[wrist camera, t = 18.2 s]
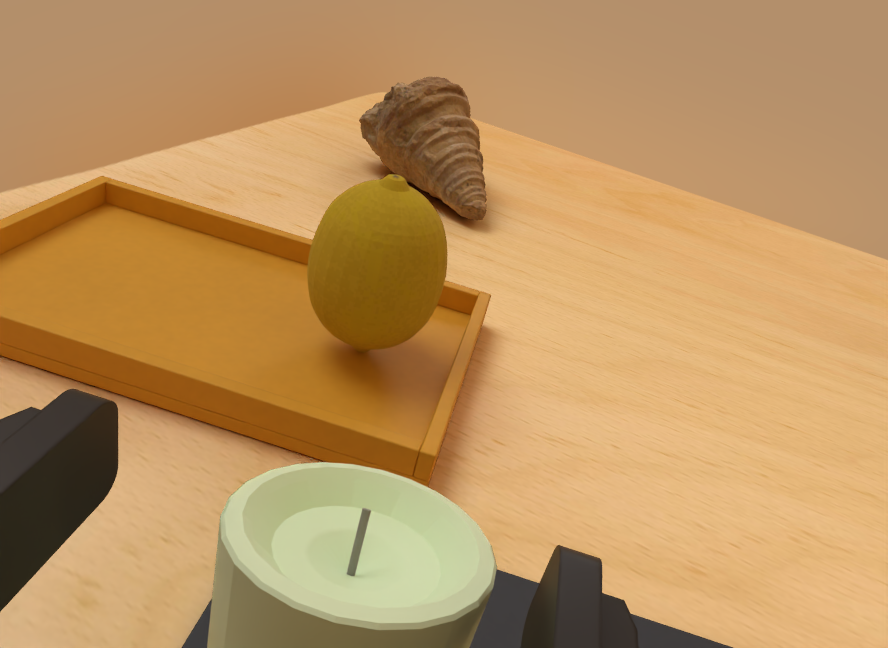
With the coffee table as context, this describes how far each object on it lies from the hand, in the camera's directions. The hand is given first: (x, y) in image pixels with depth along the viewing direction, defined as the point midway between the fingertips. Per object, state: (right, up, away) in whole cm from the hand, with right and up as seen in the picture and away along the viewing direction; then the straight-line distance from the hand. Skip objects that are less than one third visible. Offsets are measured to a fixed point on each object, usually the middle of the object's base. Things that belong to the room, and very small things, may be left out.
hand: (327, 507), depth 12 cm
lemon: (-2, +2, +18) cm, 18 cm away
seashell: (+1, +14, +40) cm, 43 cm away
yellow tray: (-7, +3, +19) cm, 21 cm away
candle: (-1, -7, +4) cm, 8 cm away
